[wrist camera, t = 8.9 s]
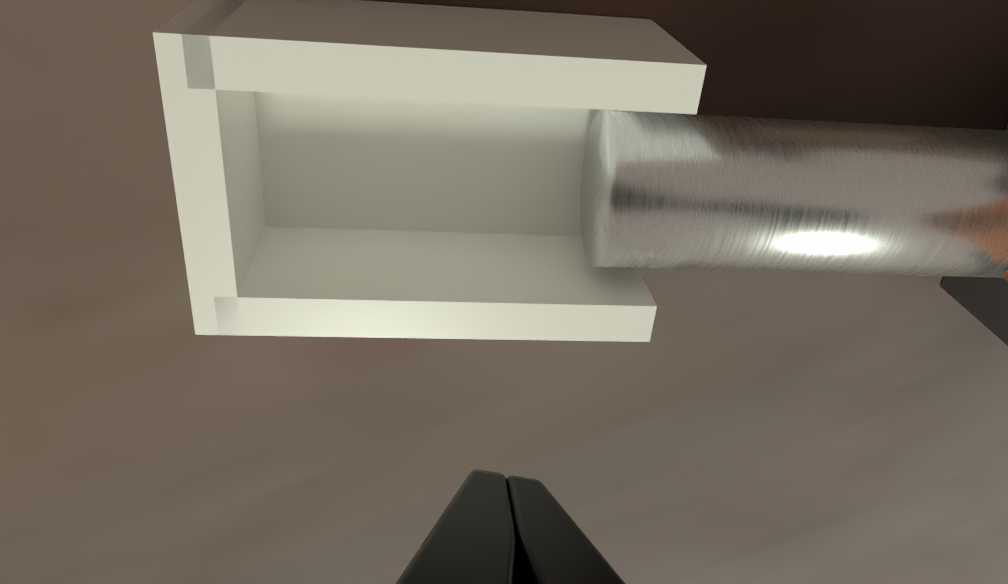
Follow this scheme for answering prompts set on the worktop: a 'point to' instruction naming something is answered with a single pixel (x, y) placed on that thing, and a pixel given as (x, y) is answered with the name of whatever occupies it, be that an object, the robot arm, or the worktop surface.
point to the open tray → (402, 166)
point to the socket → (982, 299)
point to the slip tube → (793, 196)
